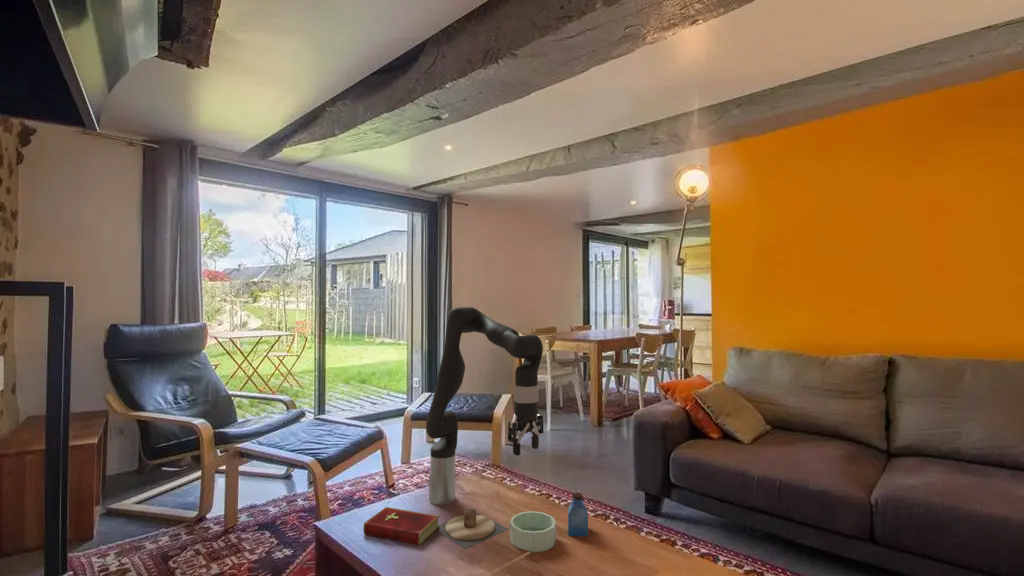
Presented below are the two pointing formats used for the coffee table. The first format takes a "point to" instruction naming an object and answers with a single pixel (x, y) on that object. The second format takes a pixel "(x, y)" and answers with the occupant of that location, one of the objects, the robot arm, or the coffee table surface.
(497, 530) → the mat
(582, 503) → the perfume bottle
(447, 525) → the lid
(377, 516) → the hardcover book
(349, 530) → the coffee table surface
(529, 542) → the bowl
